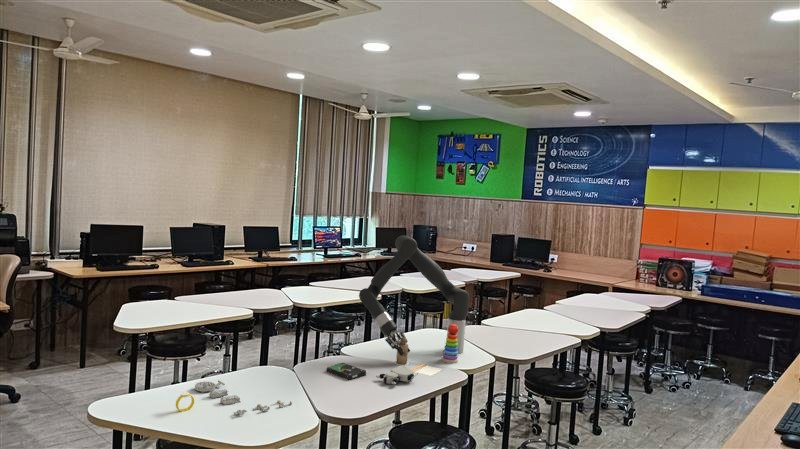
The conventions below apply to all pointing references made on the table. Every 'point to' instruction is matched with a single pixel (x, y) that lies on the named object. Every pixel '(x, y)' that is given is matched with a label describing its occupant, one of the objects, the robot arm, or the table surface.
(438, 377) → the table surface
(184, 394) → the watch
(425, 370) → the lane mat
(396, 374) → the robot toy
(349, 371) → the disk drive
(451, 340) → the stacking toy
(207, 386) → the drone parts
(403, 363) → the walnut skittle
